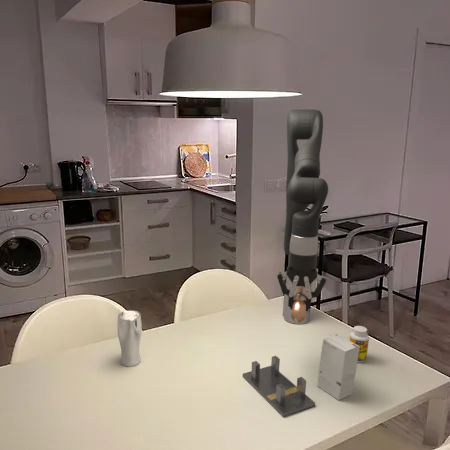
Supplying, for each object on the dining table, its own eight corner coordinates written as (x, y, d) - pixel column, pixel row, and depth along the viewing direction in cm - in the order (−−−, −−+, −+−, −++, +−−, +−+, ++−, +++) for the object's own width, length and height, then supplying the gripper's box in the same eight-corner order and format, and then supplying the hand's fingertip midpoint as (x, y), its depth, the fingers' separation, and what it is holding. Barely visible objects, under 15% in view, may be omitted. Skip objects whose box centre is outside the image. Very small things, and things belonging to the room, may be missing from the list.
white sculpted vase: (124, 370, 134) (123, 322, 130) (114, 359, 139) (113, 313, 136) (146, 362, 138) (145, 316, 134) (136, 352, 143) (135, 308, 140)
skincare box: (316, 386, 128) (320, 337, 125) (331, 379, 132) (335, 331, 128) (339, 401, 122) (344, 350, 118) (355, 394, 125) (360, 344, 122)
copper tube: (304, 323, 122) (305, 310, 121) (290, 321, 123) (291, 308, 122) (306, 299, 138) (307, 287, 137) (294, 297, 139) (295, 286, 138)
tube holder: (242, 376, 132) (243, 357, 131) (271, 368, 137) (272, 350, 135) (283, 417, 115) (284, 396, 114) (315, 406, 120) (316, 385, 118)
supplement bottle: (352, 364, 140) (355, 333, 138) (345, 354, 146) (348, 324, 143) (369, 363, 141) (373, 332, 139) (361, 353, 146) (365, 324, 144)
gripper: (276, 252, 124) (272, 311, 128) (330, 256, 122) (325, 317, 125) (278, 244, 131) (275, 301, 135) (329, 248, 129) (324, 306, 133)
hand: (299, 309), depth 130 cm, fingers closed on copper tube, 3 cm apart
